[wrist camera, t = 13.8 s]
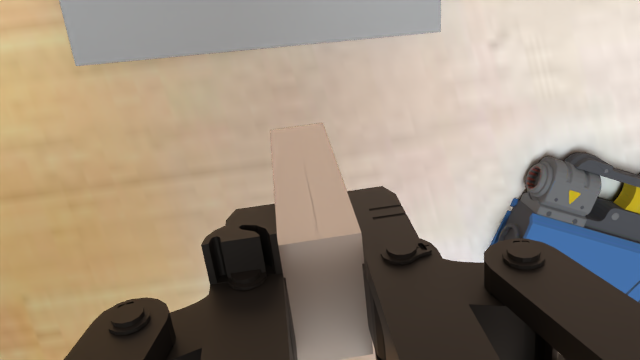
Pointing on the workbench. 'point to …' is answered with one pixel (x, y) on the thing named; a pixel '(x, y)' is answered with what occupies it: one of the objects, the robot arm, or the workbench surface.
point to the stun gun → (581, 217)
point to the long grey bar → (232, 25)
